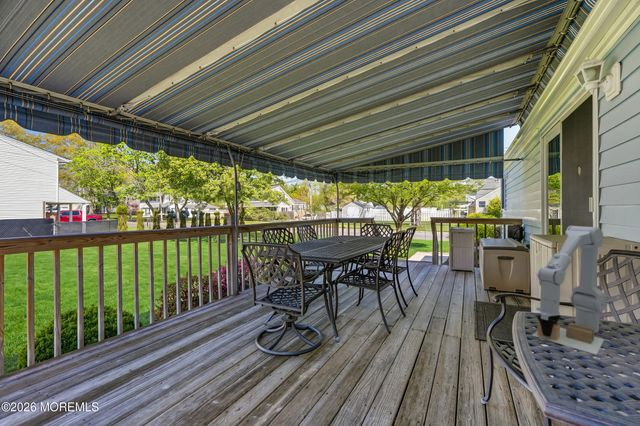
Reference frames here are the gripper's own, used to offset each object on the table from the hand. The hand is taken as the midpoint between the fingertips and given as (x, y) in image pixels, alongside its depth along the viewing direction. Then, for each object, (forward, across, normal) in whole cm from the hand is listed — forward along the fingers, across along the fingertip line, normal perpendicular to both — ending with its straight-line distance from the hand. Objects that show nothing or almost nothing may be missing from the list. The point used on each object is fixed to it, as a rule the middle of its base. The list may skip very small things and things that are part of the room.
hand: (548, 334), depth 110 cm
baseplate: (+1, -5, +5) cm, 7 cm away
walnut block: (+1, -8, +8) cm, 11 cm away
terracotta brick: (+1, 0, 0) cm, 1 cm away
